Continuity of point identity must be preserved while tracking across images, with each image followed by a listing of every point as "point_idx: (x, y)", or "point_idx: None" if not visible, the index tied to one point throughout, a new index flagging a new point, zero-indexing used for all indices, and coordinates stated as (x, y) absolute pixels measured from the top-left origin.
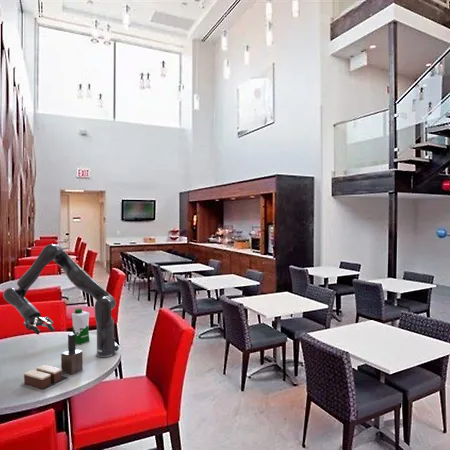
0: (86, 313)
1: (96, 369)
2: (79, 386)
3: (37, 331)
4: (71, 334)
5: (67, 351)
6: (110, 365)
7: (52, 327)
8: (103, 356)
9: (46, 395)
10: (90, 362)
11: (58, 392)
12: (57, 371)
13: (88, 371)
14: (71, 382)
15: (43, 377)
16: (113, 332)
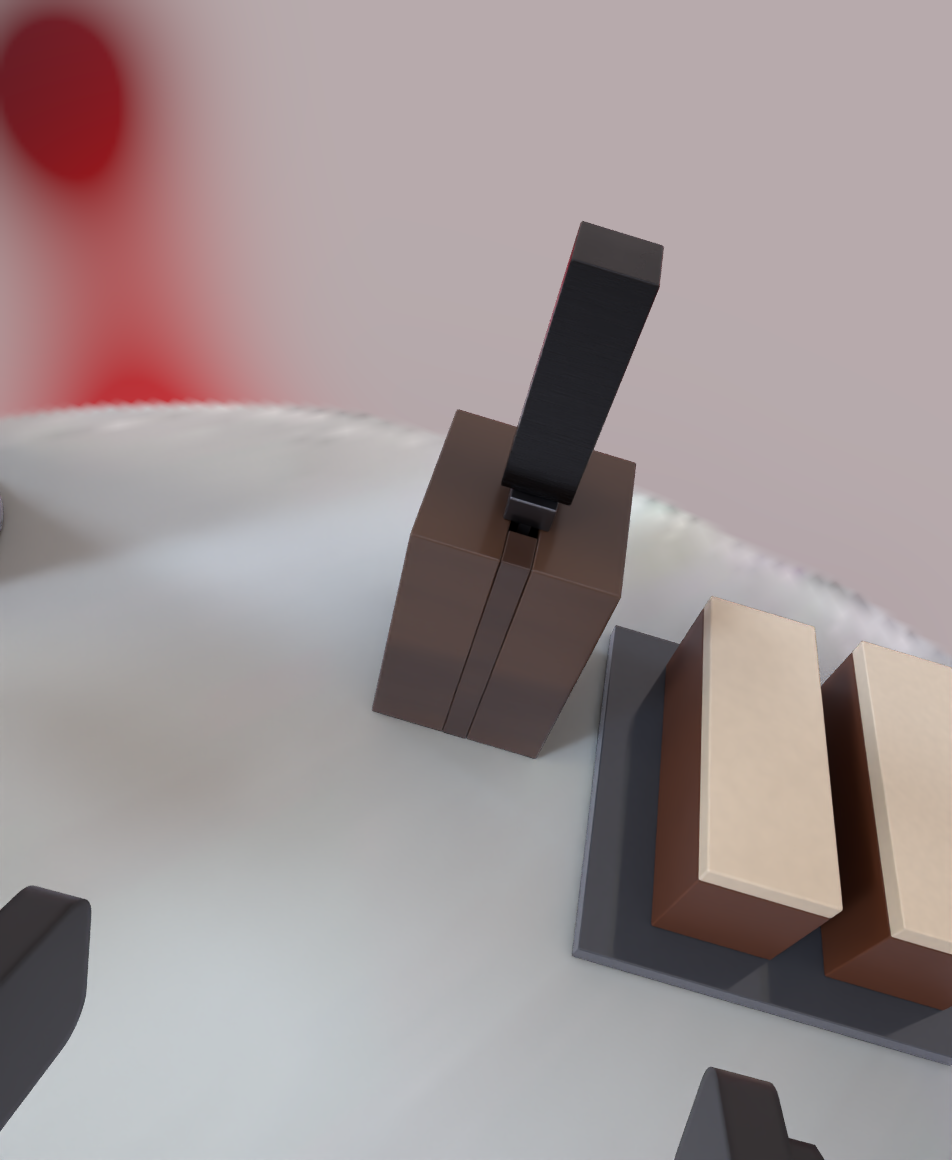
0: None
1: (344, 495)
2: (681, 512)
3: (812, 1148)
4: (624, 252)
5: (529, 550)
6: (234, 420)
7: (16, 942)
8: (1, 505)
9: None
10: (156, 600)
11: (828, 608)
12: (771, 616)
13: (402, 542)
14: (651, 589)
15: (948, 668)
16: None
